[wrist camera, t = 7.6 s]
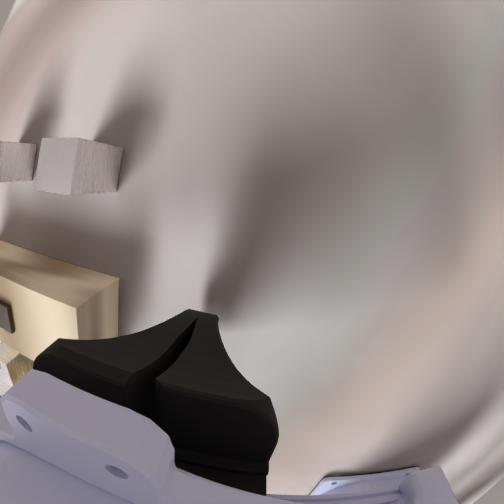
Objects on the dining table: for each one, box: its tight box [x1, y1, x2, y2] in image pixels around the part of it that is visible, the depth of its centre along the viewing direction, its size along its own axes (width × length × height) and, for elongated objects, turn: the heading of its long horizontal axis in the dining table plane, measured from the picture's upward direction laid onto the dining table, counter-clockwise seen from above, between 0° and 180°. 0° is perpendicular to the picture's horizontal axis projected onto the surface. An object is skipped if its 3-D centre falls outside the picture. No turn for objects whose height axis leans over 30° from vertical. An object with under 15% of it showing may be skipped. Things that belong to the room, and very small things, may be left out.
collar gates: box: [0, 138, 123, 387], centre depth 11 cm, size 8×14×4 cm, turn 169°
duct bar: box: [0, 240, 119, 361], centre depth 11 cm, size 10×4×4 cm, turn 78°
